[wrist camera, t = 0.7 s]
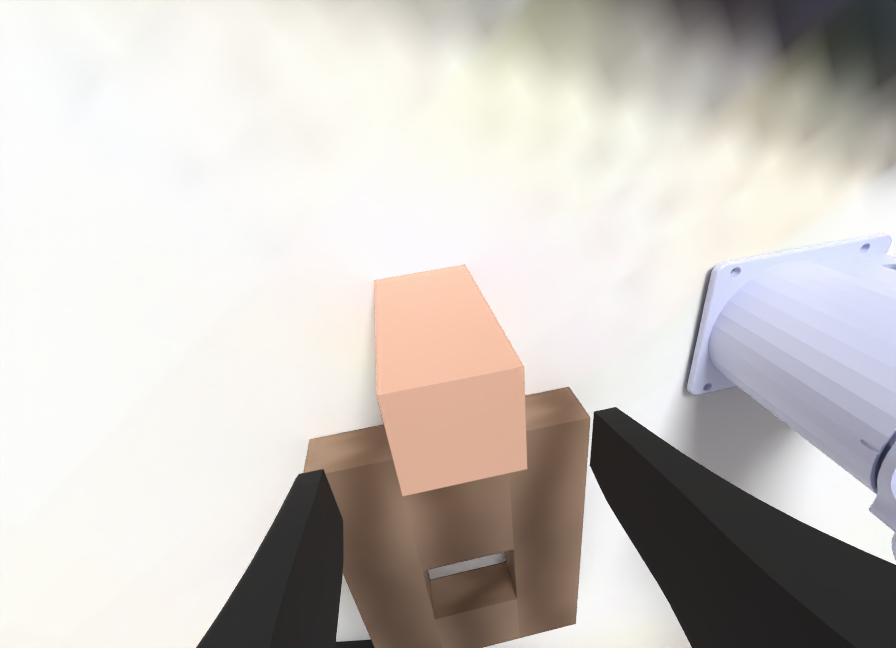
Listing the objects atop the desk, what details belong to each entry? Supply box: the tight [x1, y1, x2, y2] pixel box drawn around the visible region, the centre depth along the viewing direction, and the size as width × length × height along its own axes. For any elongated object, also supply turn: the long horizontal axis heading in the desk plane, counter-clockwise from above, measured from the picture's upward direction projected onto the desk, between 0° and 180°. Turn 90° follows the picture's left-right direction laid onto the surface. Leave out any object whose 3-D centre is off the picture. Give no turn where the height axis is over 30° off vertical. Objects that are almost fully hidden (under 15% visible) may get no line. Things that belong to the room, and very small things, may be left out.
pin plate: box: [304, 387, 590, 648], centre depth 26 cm, size 14×20×2 cm
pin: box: [374, 265, 527, 496], centre depth 15 cm, size 4×4×8 cm
